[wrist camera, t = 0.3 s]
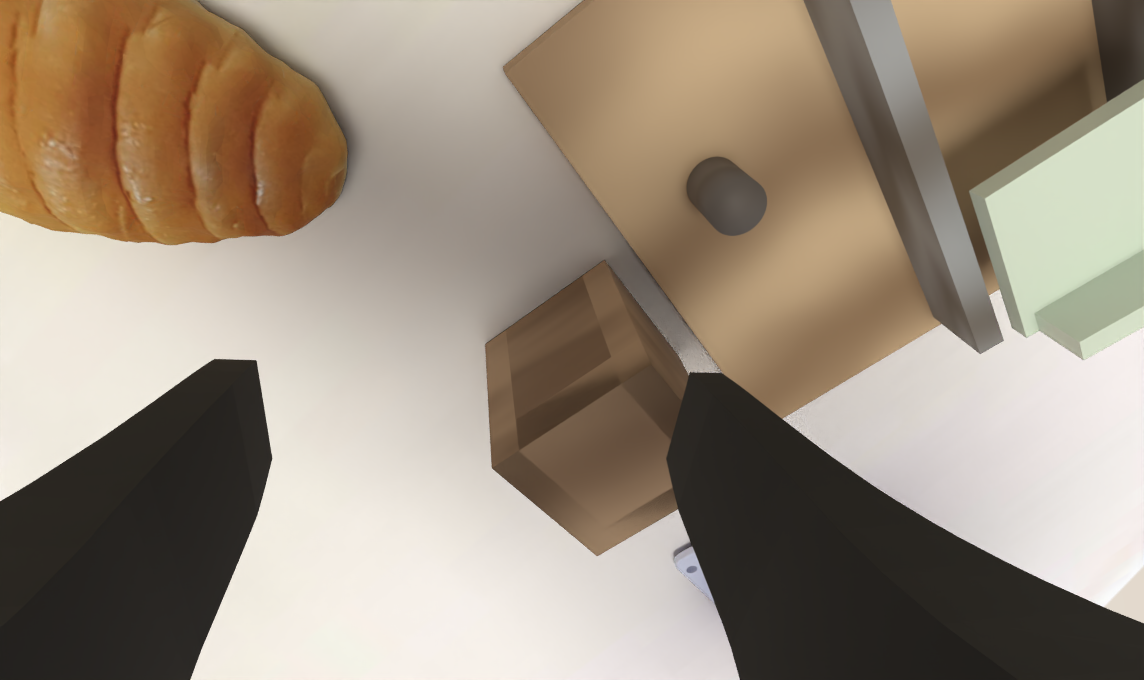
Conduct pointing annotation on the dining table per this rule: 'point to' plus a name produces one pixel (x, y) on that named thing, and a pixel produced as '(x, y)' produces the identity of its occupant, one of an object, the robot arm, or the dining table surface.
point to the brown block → (587, 410)
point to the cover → (1073, 230)
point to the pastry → (157, 125)
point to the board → (817, 157)
